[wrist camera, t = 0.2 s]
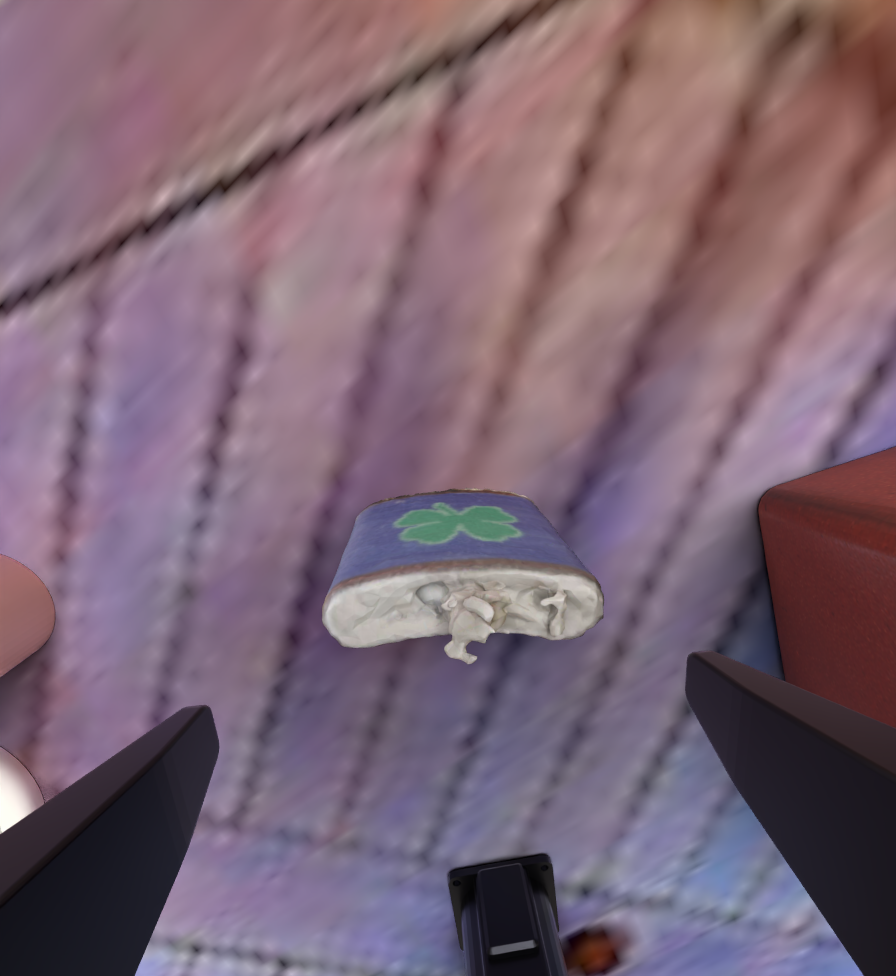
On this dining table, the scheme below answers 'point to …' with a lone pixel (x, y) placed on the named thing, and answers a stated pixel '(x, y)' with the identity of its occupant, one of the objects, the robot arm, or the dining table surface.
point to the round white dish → (16, 791)
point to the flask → (458, 574)
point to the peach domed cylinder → (22, 613)
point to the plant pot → (837, 582)
